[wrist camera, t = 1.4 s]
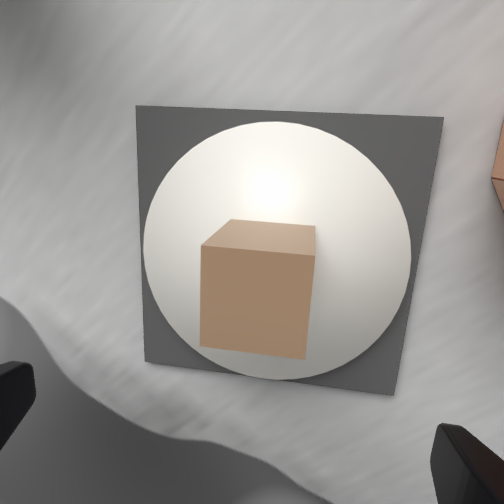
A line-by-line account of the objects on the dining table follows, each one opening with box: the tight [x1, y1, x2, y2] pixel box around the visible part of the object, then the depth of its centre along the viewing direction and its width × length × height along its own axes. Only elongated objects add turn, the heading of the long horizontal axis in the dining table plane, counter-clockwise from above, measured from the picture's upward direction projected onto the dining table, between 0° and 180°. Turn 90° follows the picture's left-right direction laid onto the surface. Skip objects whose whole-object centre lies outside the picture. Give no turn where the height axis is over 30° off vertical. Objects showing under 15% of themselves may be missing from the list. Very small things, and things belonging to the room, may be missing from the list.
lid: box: [143, 122, 411, 380], centre depth 16 cm, size 13×13×6 cm
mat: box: [136, 105, 444, 396], centre depth 19 cm, size 14×14×1 cm
